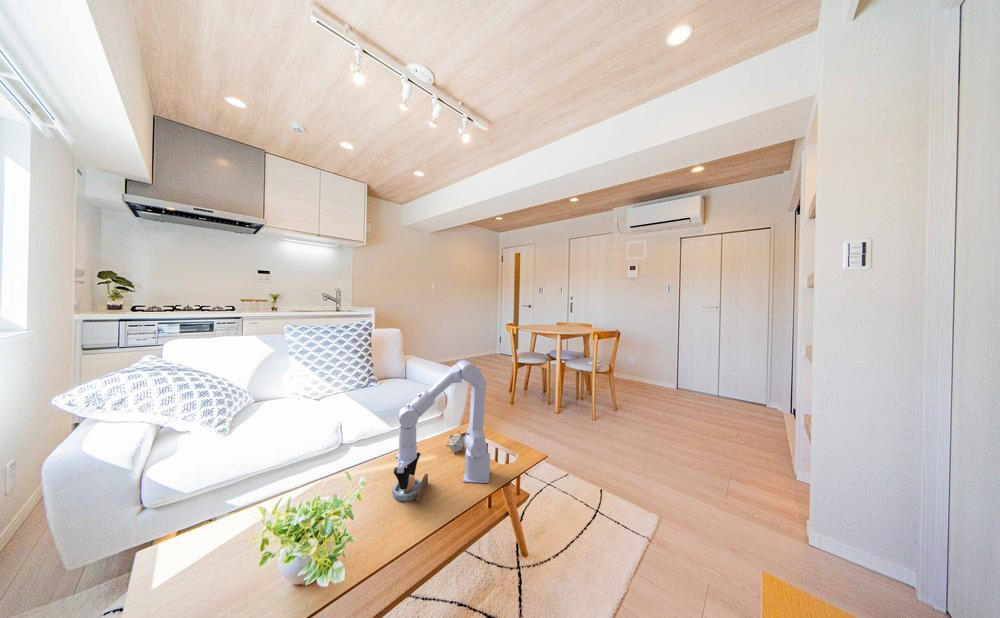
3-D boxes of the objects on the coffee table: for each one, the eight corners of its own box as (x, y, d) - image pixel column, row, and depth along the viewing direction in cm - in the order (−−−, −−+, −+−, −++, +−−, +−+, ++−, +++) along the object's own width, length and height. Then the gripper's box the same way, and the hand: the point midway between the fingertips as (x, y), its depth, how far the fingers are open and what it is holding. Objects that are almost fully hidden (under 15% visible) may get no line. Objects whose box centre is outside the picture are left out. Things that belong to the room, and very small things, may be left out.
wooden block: (427, 483, 110) (427, 473, 110) (418, 503, 99) (418, 493, 99) (425, 483, 110) (425, 473, 110) (415, 503, 99) (415, 493, 99)
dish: (425, 484, 109) (425, 479, 109) (416, 502, 100) (416, 496, 100) (399, 483, 110) (399, 478, 110) (388, 501, 100) (388, 495, 100)
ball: (417, 485, 107) (417, 471, 107) (412, 495, 102) (412, 479, 102) (402, 485, 108) (402, 470, 107) (397, 494, 102) (397, 479, 102)
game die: (453, 461, 132) (439, 445, 129) (458, 445, 139) (445, 430, 137) (469, 455, 129) (455, 439, 126) (474, 439, 136) (460, 423, 134)
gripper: (403, 433, 112) (403, 469, 112) (387, 453, 97) (387, 494, 98) (422, 433, 111) (422, 469, 112) (409, 454, 97) (409, 495, 97)
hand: (407, 481), depth 105 cm, fingers open, 7 cm apart
